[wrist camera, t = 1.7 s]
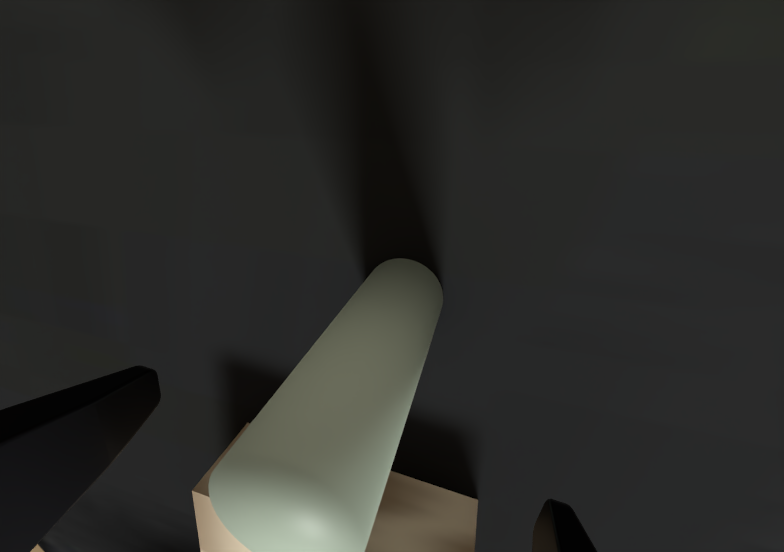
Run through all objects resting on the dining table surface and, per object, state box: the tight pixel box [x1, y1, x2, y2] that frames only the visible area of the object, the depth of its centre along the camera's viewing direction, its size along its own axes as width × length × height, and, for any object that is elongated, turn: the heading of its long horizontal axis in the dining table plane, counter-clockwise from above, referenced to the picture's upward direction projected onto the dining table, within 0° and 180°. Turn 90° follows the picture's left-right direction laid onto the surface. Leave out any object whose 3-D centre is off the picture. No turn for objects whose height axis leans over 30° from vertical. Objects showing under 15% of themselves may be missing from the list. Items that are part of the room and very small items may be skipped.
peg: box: [208, 258, 443, 552], centre depth 11 cm, size 3×3×9 cm
